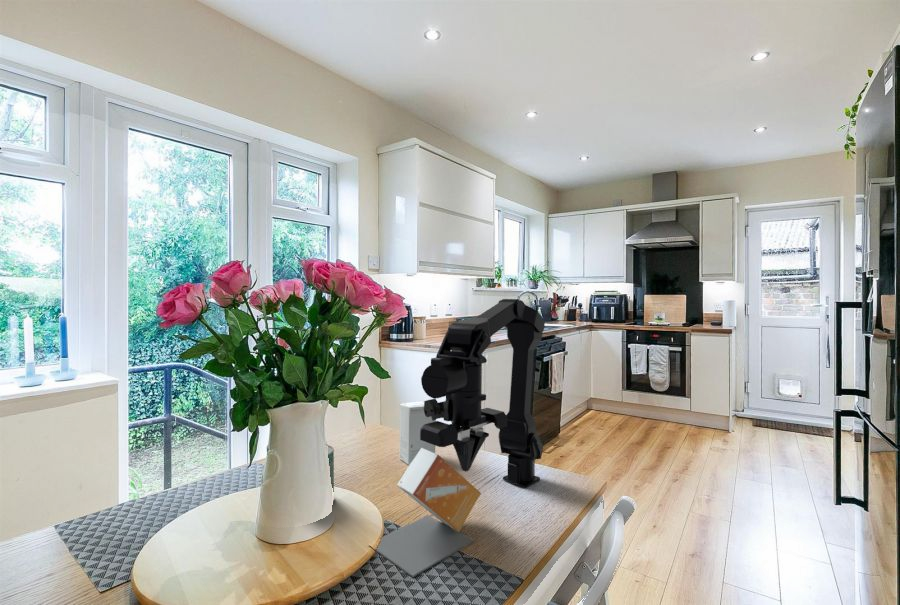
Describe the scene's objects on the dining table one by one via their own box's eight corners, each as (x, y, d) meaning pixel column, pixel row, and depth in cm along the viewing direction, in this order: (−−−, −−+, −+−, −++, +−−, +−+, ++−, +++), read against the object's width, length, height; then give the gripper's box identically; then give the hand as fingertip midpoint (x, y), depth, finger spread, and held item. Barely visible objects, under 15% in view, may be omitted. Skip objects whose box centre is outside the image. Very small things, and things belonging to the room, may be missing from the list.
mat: (427, 516, 86) (427, 515, 86) (473, 541, 77) (473, 539, 77) (368, 545, 76) (368, 543, 76) (412, 577, 67) (412, 575, 67)
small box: (459, 533, 79) (411, 495, 74) (441, 521, 84) (395, 485, 79) (482, 492, 82) (438, 453, 78) (463, 483, 87) (420, 446, 83)
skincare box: (408, 466, 111) (408, 408, 110) (398, 458, 116) (398, 403, 115) (436, 459, 115) (437, 403, 115) (425, 452, 120) (425, 399, 120)
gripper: (468, 376, 95) (467, 448, 95) (401, 389, 82) (400, 471, 82) (509, 384, 87) (508, 462, 87) (442, 399, 74) (441, 490, 74)
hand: (465, 470), depth 83 cm, fingers closed
